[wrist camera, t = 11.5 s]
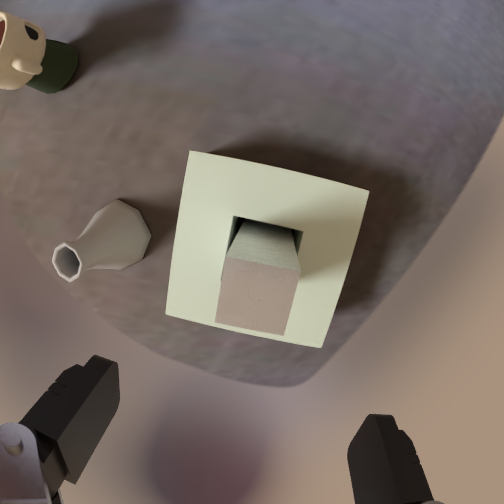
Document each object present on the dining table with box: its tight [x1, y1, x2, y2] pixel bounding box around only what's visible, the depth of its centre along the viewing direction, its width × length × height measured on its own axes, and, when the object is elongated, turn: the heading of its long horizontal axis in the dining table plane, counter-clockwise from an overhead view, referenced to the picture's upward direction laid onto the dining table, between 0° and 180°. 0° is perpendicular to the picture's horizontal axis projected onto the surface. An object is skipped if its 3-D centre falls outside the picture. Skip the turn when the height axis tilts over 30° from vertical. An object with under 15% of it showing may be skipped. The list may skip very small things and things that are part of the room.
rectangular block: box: [215, 218, 301, 336], centre depth 24 cm, size 4×4×14 cm
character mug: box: [0, 11, 78, 94], centre depth 20 cm, size 11×7×13 cm, turn 54°
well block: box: [166, 151, 369, 348], centre depth 28 cm, size 14×14×6 cm
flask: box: [52, 199, 151, 282], centre depth 27 cm, size 7×7×10 cm
